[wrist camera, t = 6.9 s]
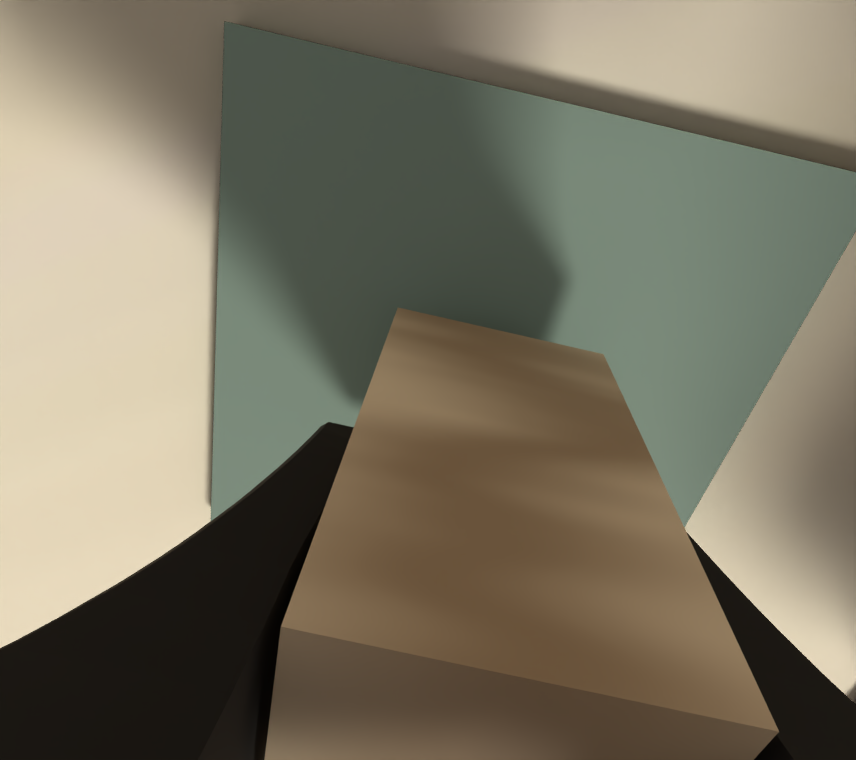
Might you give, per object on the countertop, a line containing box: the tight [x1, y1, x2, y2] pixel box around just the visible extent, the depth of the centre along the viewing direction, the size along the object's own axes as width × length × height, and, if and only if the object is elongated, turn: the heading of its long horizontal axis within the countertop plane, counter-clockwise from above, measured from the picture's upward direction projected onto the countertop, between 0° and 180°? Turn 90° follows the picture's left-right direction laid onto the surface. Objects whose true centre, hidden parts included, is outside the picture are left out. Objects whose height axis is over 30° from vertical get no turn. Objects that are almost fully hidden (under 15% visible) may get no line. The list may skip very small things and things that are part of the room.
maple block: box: [265, 308, 779, 760], centre depth 8 cm, size 4×4×7 cm
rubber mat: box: [211, 21, 856, 527], centre depth 13 cm, size 12×12×1 cm
